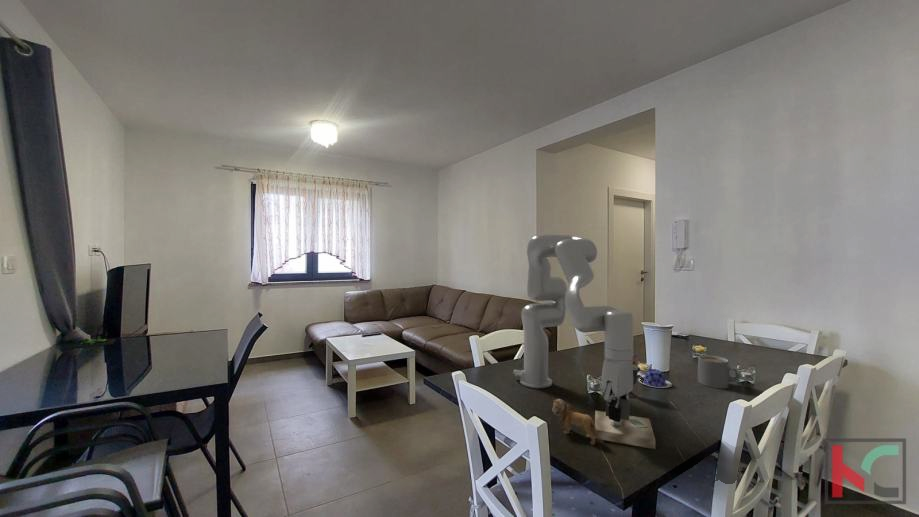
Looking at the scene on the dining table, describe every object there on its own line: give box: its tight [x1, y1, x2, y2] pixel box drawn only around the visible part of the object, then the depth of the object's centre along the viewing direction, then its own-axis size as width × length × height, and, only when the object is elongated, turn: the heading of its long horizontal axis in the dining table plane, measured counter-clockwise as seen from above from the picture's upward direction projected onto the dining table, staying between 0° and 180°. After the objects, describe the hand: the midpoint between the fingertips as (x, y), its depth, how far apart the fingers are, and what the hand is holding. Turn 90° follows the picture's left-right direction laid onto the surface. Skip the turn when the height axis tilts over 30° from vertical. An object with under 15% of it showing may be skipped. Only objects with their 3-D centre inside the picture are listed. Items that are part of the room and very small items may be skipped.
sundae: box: [629, 354, 641, 399], centre depth 131 cm, size 7×7×15 cm
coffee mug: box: [697, 354, 741, 389], centre depth 141 cm, size 13×10×10 cm
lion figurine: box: [551, 398, 605, 446], centre depth 102 cm, size 15×5×9 cm, turn 51°
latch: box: [605, 397, 630, 426], centre depth 106 cm, size 8×6×7 cm
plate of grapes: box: [637, 368, 673, 389], centre depth 143 cm, size 12×12×5 cm
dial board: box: [594, 410, 656, 450], centre depth 104 cm, size 15×13×3 cm
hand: (618, 417), depth 103 cm, fingers closed on latch, 3 cm apart
